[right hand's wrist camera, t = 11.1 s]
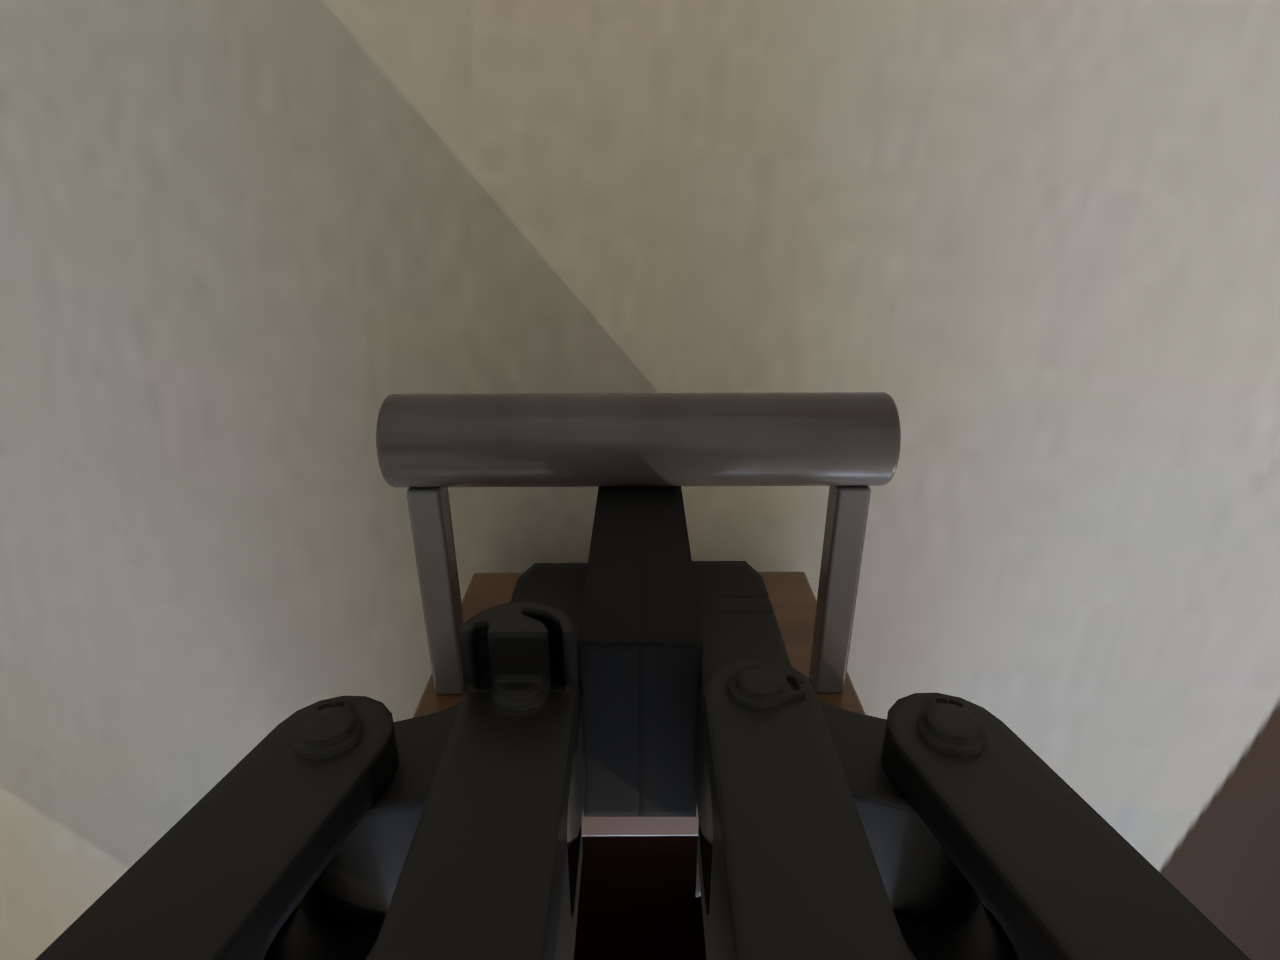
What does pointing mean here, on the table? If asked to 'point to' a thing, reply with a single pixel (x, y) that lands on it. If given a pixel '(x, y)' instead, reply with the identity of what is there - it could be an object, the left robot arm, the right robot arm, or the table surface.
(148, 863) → the right robot arm
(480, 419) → the wooden drawer
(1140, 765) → the table surface
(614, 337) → the table surface
